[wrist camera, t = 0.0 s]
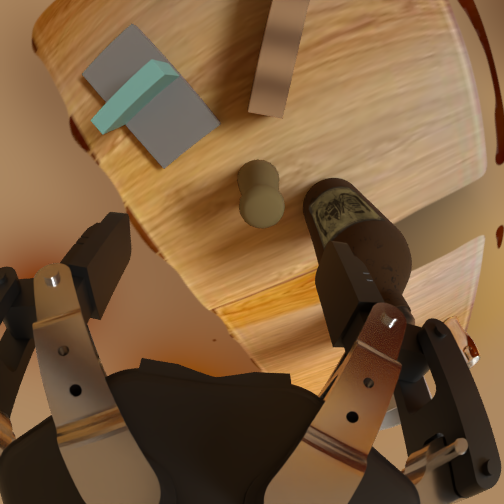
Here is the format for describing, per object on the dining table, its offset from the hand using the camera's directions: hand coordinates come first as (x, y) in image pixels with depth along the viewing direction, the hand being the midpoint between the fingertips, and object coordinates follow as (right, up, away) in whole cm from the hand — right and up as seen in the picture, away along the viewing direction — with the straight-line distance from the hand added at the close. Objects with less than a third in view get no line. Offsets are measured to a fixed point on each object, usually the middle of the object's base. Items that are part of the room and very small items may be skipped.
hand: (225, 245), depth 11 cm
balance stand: (-13, +21, +21) cm, 32 cm away
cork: (+2, +10, +29) cm, 31 cm away
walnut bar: (+4, +27, +18) cm, 32 cm away
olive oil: (+13, +7, +31) cm, 35 cm away
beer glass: (+56, -20, +51) cm, 79 cm away
